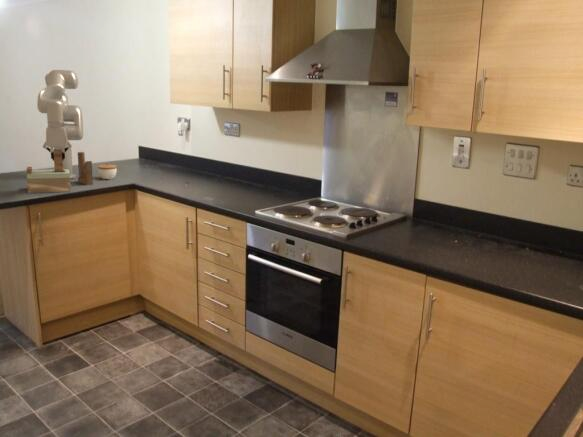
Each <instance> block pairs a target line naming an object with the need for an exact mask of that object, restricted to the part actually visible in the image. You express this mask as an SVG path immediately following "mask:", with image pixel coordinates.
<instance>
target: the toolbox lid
mask: <svg viewBox="0 0 583 437" xmlns="http://www.w3.org/2000/svg"><path fill="white" fill-rule="evenodd" d="M25 170H26V180H27V179H45V178H70V174H69V169H63V172H58V173H55V169H33V166H27V167H26V169H25Z"/></svg>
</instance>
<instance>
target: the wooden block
mask: <svg viewBox="0 0 583 437" xmlns="http://www.w3.org/2000/svg"><path fill="white" fill-rule="evenodd" d="M92 162H93V161H92V160H87V161H86V157H85V152H84V151H78V152H77V165H78V166H77V168H78V177H77V182H78V183H79V184H83V185H85V186H90V185H91V186H92V185H94V181H93V180H94V179H93V163H92Z"/></svg>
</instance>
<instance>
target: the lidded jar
mask: <svg viewBox="0 0 583 437" xmlns="http://www.w3.org/2000/svg"><path fill="white" fill-rule="evenodd" d="M117 170H118V168H117V165H116V164H109V162H107V163H105V164H100V165H97V172H98V175H99V177H101V179H102V180H104V179H110V180H114V178H115V177H116V175H117Z"/></svg>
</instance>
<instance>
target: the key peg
mask: <svg viewBox="0 0 583 437" xmlns="http://www.w3.org/2000/svg"><path fill="white" fill-rule="evenodd" d="M53 153H54V161H53V162H54V163H53V165H54V170H55V173H58V172H63V160H62V149H54V148H53Z"/></svg>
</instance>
